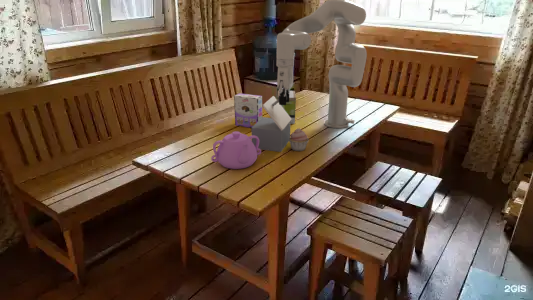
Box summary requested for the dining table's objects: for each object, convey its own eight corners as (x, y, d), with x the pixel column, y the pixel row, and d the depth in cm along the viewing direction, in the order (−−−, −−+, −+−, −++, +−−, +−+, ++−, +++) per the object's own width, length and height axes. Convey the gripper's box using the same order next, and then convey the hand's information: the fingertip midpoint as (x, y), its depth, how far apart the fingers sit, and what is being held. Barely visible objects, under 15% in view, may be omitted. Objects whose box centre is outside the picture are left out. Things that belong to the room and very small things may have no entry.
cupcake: (305, 154, 185) (306, 132, 181) (285, 151, 188) (286, 130, 184) (310, 146, 193) (311, 126, 189) (291, 143, 196) (292, 123, 192)
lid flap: (290, 120, 197) (305, 109, 193) (281, 130, 183) (297, 119, 179) (272, 96, 195) (286, 85, 191) (261, 105, 182) (277, 94, 177)
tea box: (295, 124, 222) (296, 97, 217) (276, 123, 222) (277, 97, 217) (294, 115, 236) (295, 89, 230) (276, 115, 236) (276, 89, 231)
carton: (290, 139, 201) (290, 120, 197) (281, 151, 187) (281, 131, 183) (262, 136, 205) (262, 117, 201) (251, 148, 191) (251, 127, 187)
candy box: (262, 125, 219) (262, 95, 213) (257, 129, 215) (257, 98, 208) (239, 122, 225) (239, 92, 218) (234, 125, 220) (233, 95, 214)
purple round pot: (221, 180, 161) (220, 147, 155) (206, 159, 179) (204, 129, 174) (273, 171, 169) (273, 139, 163) (253, 151, 187) (253, 122, 182)
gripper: (288, 66, 171) (287, 109, 178) (298, 59, 186) (296, 99, 193) (271, 65, 173) (270, 107, 180) (282, 58, 188) (281, 98, 195)
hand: (284, 103), depth 186 cm, fingers closed on lid flap, 4 cm apart
